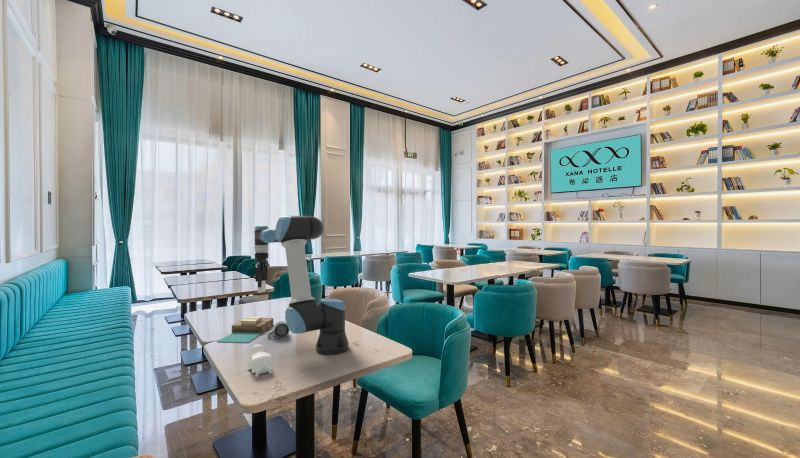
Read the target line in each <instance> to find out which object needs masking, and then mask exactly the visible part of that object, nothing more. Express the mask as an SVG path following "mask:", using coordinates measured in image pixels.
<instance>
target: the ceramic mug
mask: <svg viewBox="0 0 800 458" xmlns="http://www.w3.org/2000/svg"><path fill="white" fill-rule="evenodd" d="M290 332H291V331H290V329H289V328H288V326H287V323H286V321H283V320H281V321H278V322H276V323H275V325H273V330H272V331H270V332H269V333H267V338H269V339H270V338H273V337H276V338H277V339H285V338H286V337H288V335H289V334H290Z"/></svg>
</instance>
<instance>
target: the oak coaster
mask: <svg viewBox="0 0 800 458" xmlns="http://www.w3.org/2000/svg"><path fill="white" fill-rule="evenodd" d="M262 318H263V317H262V316H247V317H244V318H243V319H241V320H240V321H241V324H242V325H256V324H257V323H259V322H261V321H262Z"/></svg>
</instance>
